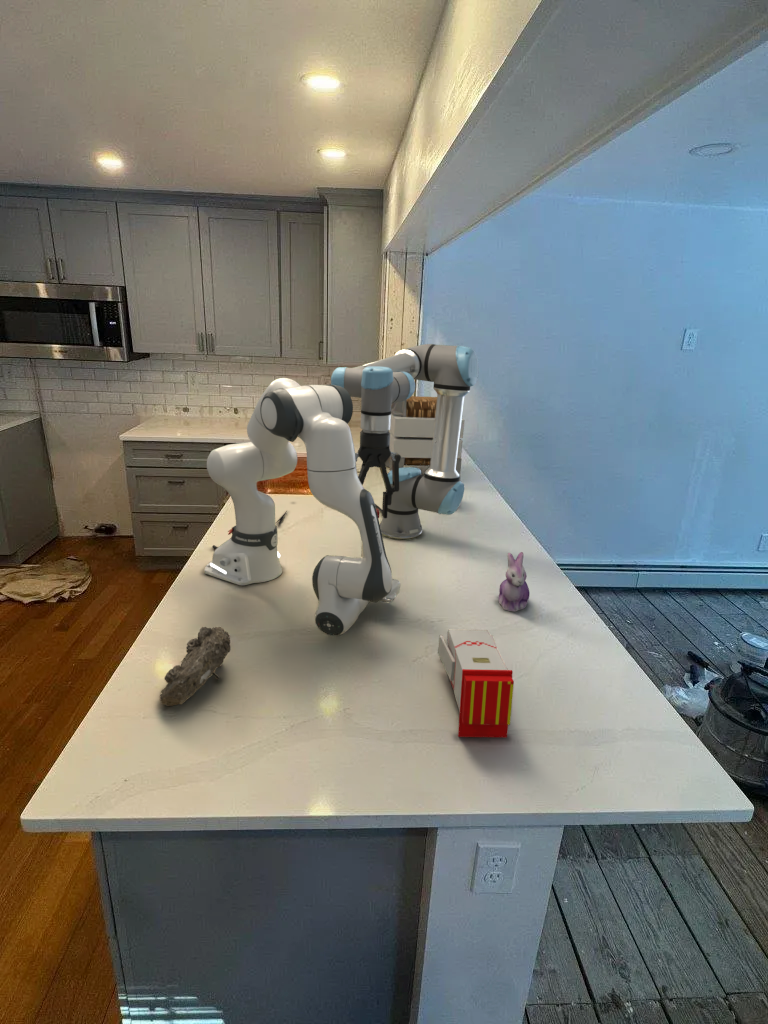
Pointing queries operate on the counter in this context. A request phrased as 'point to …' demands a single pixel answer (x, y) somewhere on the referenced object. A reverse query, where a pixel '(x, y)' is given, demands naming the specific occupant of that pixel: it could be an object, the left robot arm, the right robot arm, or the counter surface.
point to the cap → (378, 512)
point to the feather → (281, 518)
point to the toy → (478, 682)
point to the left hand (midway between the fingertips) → (370, 572)
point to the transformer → (415, 432)
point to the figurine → (514, 585)
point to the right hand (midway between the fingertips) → (372, 516)
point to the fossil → (196, 665)
